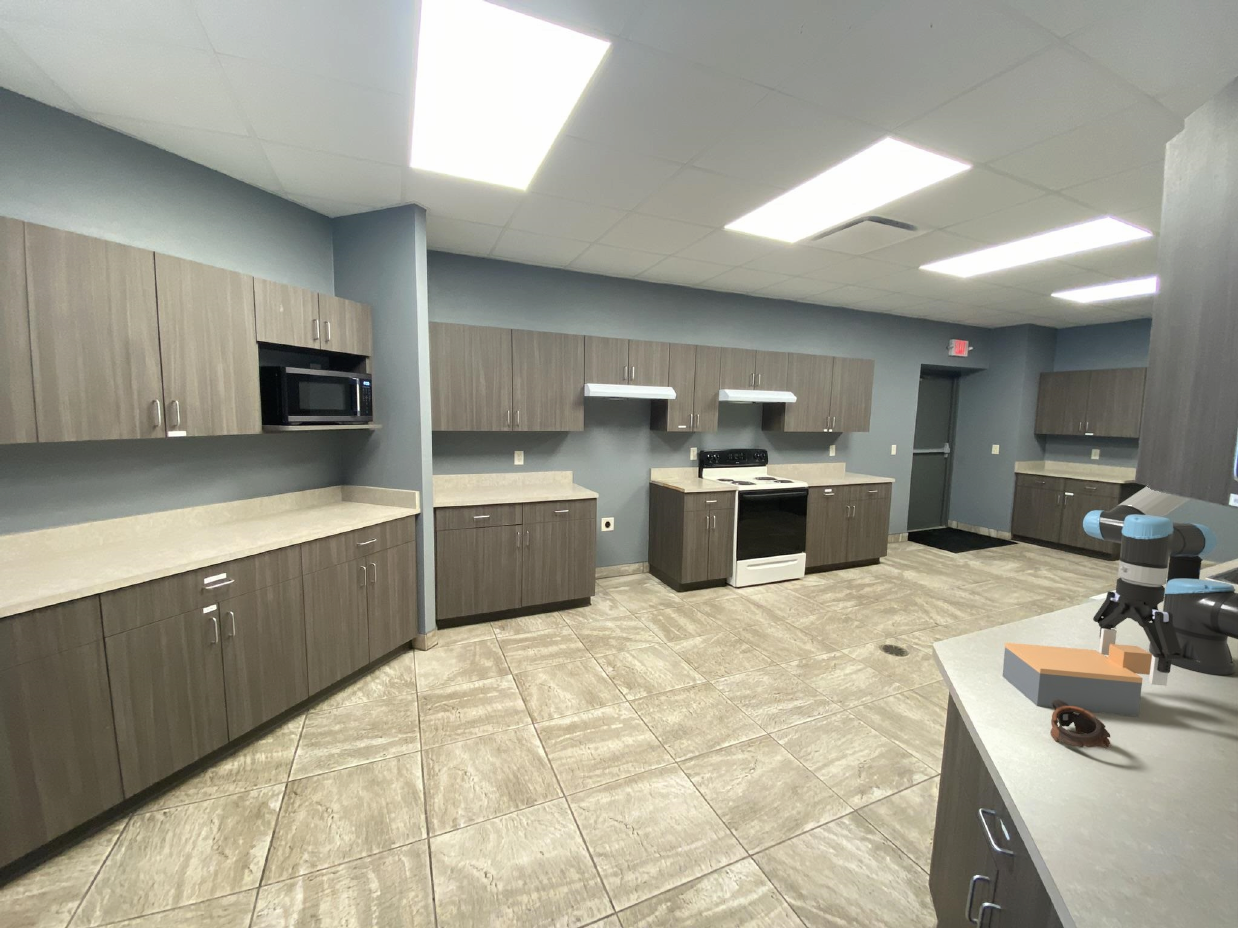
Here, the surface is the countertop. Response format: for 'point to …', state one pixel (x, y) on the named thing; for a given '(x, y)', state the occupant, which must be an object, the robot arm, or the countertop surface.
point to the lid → (1086, 661)
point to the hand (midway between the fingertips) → (1130, 668)
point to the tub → (1072, 689)
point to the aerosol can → (1184, 567)
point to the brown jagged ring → (1077, 726)
